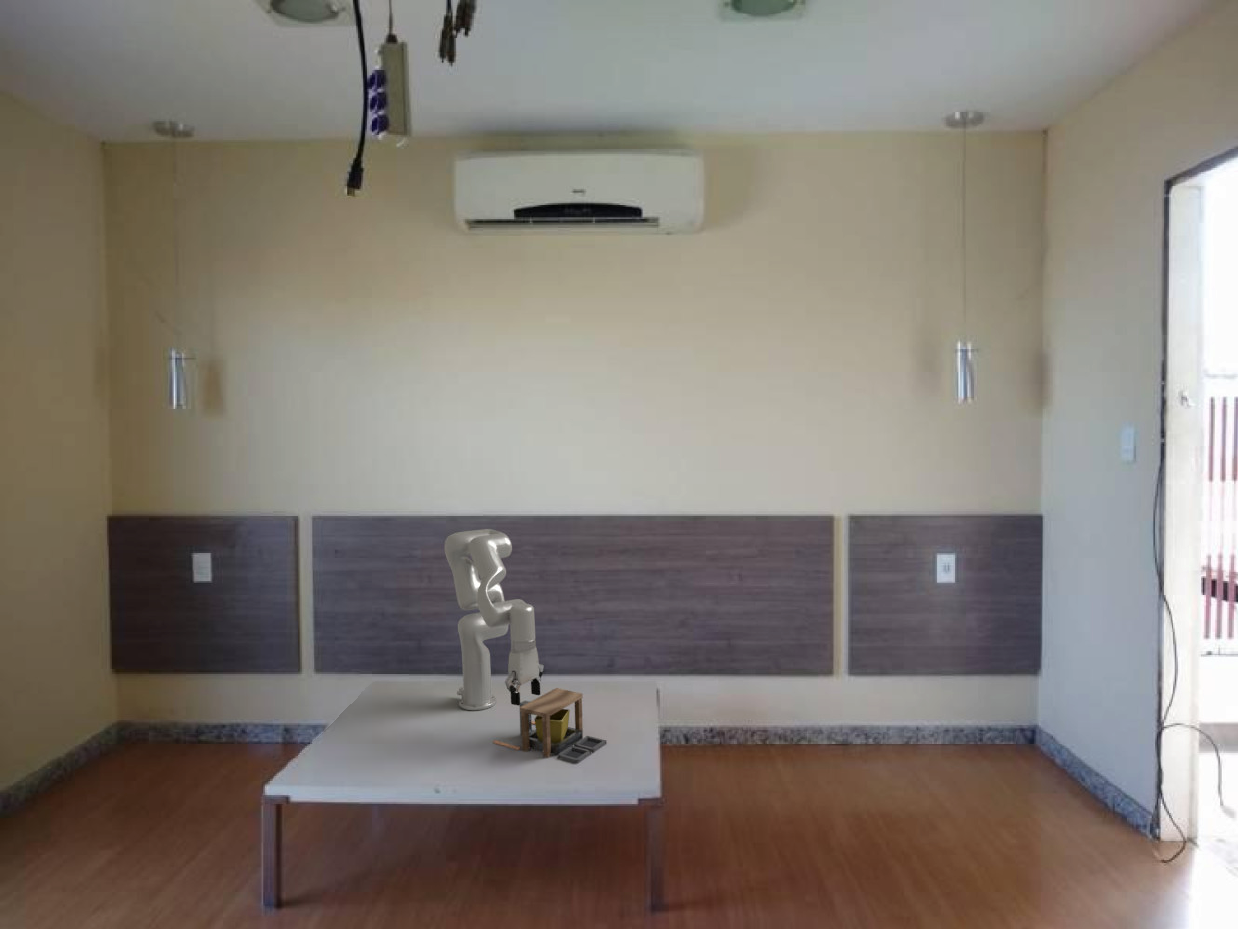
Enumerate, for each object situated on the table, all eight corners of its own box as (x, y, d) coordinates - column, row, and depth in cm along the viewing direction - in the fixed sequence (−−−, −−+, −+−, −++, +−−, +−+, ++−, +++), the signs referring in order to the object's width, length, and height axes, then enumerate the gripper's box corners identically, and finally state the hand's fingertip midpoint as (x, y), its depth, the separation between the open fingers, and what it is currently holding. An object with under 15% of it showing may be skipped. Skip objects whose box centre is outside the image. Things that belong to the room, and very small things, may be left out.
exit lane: (493, 742, 230) (493, 742, 230) (531, 721, 246) (531, 720, 246) (518, 750, 225) (518, 749, 225) (555, 728, 240) (555, 727, 240)
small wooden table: (521, 750, 225) (519, 707, 224) (557, 728, 240) (556, 688, 239) (547, 758, 219) (546, 713, 218) (583, 735, 234) (582, 693, 233)
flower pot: (563, 750, 224) (562, 720, 224) (534, 748, 226) (533, 719, 225) (570, 737, 233) (569, 709, 232) (543, 736, 235) (542, 707, 234)
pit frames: (557, 758, 219) (557, 754, 219) (587, 738, 232) (587, 735, 232) (577, 763, 215) (577, 760, 215) (606, 743, 228) (606, 740, 228)
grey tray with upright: (509, 741, 230) (508, 709, 230) (536, 726, 241) (535, 695, 241) (557, 755, 221) (556, 720, 220) (582, 738, 231) (581, 705, 231)
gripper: (531, 636, 242) (534, 689, 243) (495, 650, 228) (498, 706, 229) (550, 639, 238) (552, 692, 239) (514, 654, 224) (517, 710, 225)
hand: (526, 699), depth 234 cm, fingers open, 9 cm apart
